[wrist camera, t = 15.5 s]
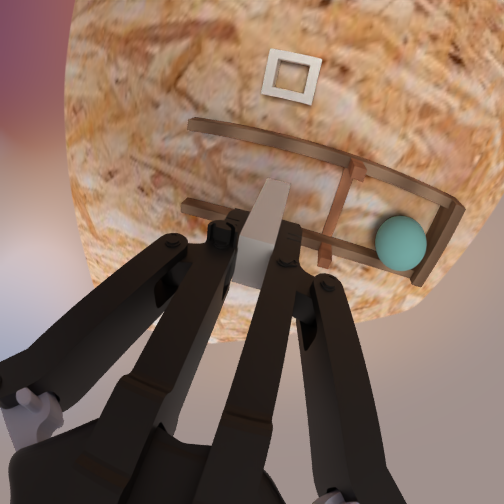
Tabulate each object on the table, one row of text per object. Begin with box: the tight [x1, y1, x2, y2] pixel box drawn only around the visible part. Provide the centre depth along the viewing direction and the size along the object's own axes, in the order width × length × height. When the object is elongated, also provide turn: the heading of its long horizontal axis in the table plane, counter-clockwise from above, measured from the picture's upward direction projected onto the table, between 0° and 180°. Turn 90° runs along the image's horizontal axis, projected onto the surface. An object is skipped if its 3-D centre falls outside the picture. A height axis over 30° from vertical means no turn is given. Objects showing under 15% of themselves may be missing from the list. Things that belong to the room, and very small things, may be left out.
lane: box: [181, 117, 466, 287], centre depth 27 cm, size 31×11×5 cm, turn 79°
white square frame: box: [261, 48, 322, 105], centre depth 22 cm, size 5×5×2 cm
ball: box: [375, 216, 427, 271], centre depth 26 cm, size 6×6×6 cm
